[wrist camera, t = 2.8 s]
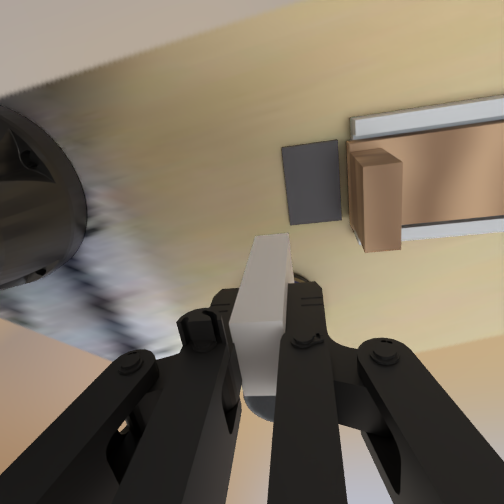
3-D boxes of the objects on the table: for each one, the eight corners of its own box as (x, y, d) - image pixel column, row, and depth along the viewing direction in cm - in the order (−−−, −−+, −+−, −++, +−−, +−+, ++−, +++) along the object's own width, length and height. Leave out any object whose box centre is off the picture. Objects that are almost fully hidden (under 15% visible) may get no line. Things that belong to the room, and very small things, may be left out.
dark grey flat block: (290, 222, 28) (290, 225, 28) (281, 147, 26) (281, 148, 25) (340, 217, 28) (341, 220, 27) (336, 139, 25) (337, 140, 25)
